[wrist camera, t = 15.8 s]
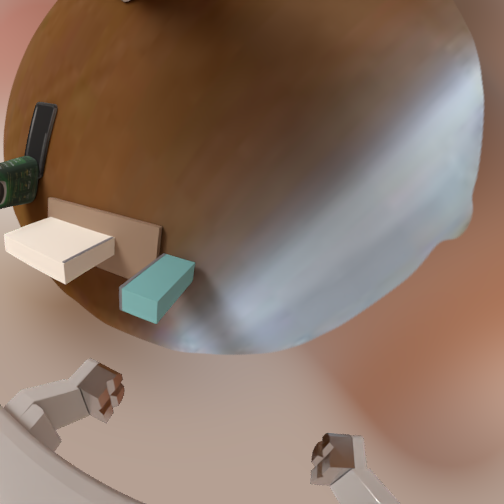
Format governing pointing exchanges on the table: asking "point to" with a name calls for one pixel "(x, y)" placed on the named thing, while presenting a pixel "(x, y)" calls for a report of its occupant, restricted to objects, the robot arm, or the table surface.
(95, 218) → the stand
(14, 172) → the coffee jar
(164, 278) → the teal rectangular block
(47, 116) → the phone
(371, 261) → the table surface
